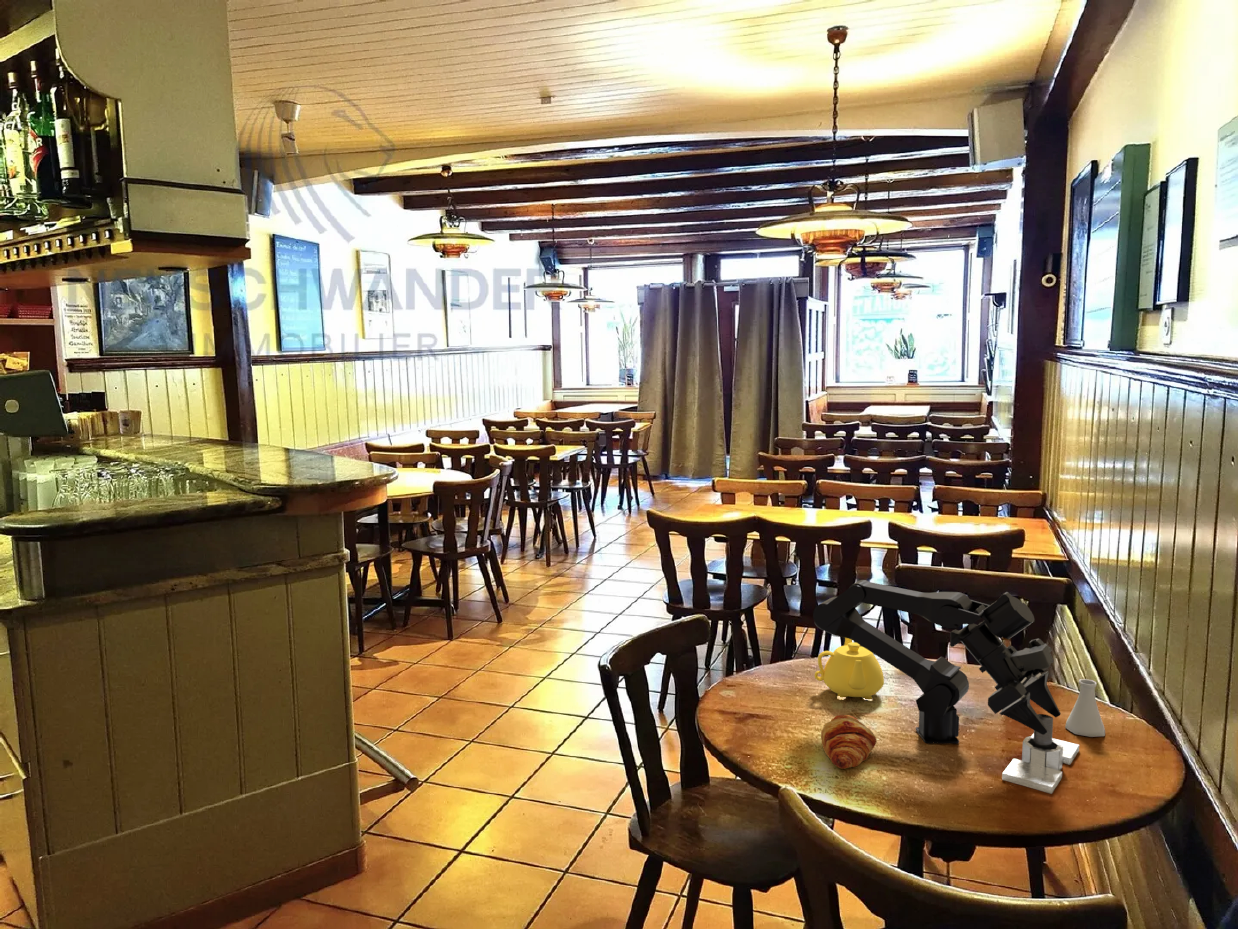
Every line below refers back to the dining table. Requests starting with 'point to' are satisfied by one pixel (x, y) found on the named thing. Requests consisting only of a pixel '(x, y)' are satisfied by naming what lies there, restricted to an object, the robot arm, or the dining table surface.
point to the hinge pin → (1045, 739)
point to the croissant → (847, 741)
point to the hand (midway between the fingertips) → (1052, 724)
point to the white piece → (1040, 765)
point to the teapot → (851, 671)
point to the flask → (1086, 712)
